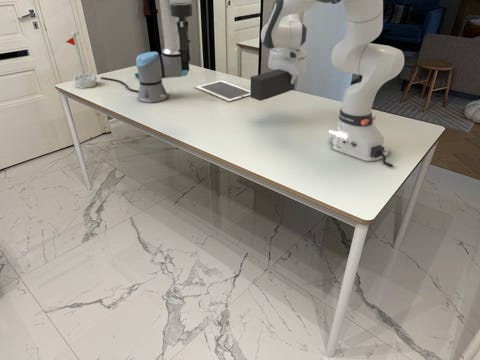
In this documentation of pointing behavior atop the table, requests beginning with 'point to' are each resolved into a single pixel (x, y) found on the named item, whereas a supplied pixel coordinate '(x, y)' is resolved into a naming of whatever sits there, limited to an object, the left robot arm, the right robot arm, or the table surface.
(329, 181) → the table surface
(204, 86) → the tablet
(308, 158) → the table surface
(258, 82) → the box
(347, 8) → the right robot arm
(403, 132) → the table surface
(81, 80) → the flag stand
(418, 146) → the table surface
